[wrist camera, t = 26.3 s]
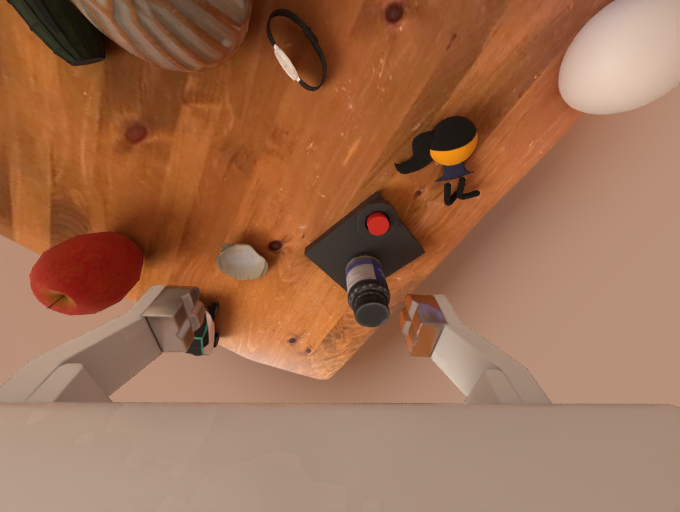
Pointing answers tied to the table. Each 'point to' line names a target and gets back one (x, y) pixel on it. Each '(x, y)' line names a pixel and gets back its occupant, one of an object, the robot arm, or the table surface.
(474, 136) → the character figurine
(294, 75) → the watch
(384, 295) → the pill bottle
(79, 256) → the apple
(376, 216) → the button
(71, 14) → the grenade
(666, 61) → the ornament
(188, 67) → the vase
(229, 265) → the seashell
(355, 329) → the table surface
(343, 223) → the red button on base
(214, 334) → the toy car
